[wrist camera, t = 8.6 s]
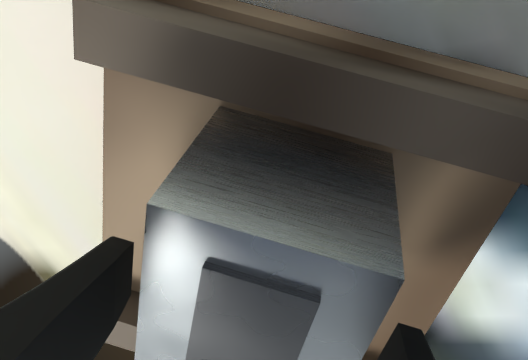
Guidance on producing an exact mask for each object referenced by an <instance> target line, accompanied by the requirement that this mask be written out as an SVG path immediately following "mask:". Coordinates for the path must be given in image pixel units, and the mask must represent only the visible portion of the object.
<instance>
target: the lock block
mask: <svg viewBox="0 0 528 360" xmlns="http://www.w3.org/2000/svg"><path fill="white" fill-rule="evenodd" d="M404 281H405V277H404V267H403V257H402V246H401V236H400V226H399V216H398V206H397V195H396V185H395V175H394V165H393V155H392V154H391V153H387V152H384V151H380V150H377V149H373V148H370V147H366V146H362V145H359V144H355V143H352V142H348V141H345V140H341V139H338V138H334V137H330V136H327V135H323V134H320V133H316V132H313V131H309V130H306V129H302V128H298V127H295V126H291V125H288V124H284V123H281V122H277V121H273V120H270V119H266V118H263V117H259V116H256V115H252V114H249V113H245V112H241V111H238V110H234V109H231V108H227V107H224V106H219V108H218V109H217V110H216V112H215V113H214V114H213V116H212V117H211V118H210V120H209V121H208V122H207V124H206V125H205V126H204V128H203V129H202V130H201V132H200V133H199V134H198V136H197V137H196V138H195V140H194V141H193V142H192V144H191V145H190V146H189V148H188V149H187V150H186V152H185V153H184V154H183V156H182V157H181V158H180V160H179V161H178V162H177V164H176V165H175V166H174V168H173V169H172V170H171V172H170V173H169V174H168V176H167V177H166V178H165V180H164V181H163V182H162V184H161V185H160V186H159V188H158V189H157V190H156V192H155V193H154V194H153V196H152V197H151V198H150V200H149V201H148V203H147V206H146V219H145V232H144V245H143V258H142V271H141V284H140V297H139V310H138V323H137V336H136V348H135V360H362V358H363V356H364V354H365V352H366V351H367V349H368V347H369V345H370V343H371V341H372V340H373V338H374V336H375V334H376V332H377V330H378V328H379V327H380V325H381V323H382V321H383V319H384V317H385V316H386V314H387V312H388V310H389V308H390V306H391V305H392V303H393V301H394V299H395V297H396V295H397V293H398V292H399V290H400V288H401V286H402V284H403V282H404Z"/></svg>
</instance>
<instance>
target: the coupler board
mask: <svg viewBox="0 0 528 360" xmlns="http://www.w3.org/2000/svg"><path fill="white" fill-rule="evenodd" d="M72 4H73V37H74V59H75V60H79V61H82V62H86V63H89V64H93V65H97V66H100V67H104V122H103V241H105V240H106V239H108V238H109V237H111V236H115V237H118V238H122V239H125V240H128V241H131V242H134V253H133V270H132V287H131V296H130V298H129V300H128V302H127V304H126V306H125V308H124V310H123V312H122V314H121V316H120V318H119V319H118V321H117V323H116V325H115V327H114V329H113V331H112V332H111V334H110V335H109V337H108V338H107V340H106V341H105V343H108V344H111V345H115V346H118V347H121V348H124V349H127V350H130V351H134V352H135V348H136V336H137V323H138V310H139V297H140V284H141V271H142V258H143V245H144V232H145V219H146V206H147V203H148V201H149V200H150V198H151V197H152V196H153V194H154V193H155V192H156V190H157V189H158V188H159V186H160V185H161V184H162V182H163V181H164V180H165V178H166V177H167V176H168V174H169V173H170V172H171V170H172V169H173V168H174V166H175V165H176V164H177V162H178V161H179V160H180V158H181V157H182V156H183V154H184V153H185V152H186V150H187V149H188V148H189V146H190V145H191V144H192V142H193V141H194V140H195V138H196V137H197V136H198V134H199V133H200V132H201V130H202V129H203V128H204V126H205V125H206V124H207V122H208V121H209V120H210V118H211V117H212V116H213V114H214V113H215V112H216V110H217V109H218V108H219V106H224V107H227V108H231V109H234V110H238V111H241V112H245V113H249V114H252V115H256V116H259V117H263V118H266V119H270V120H273V121H277V122H281V123H284V124H288V125H291V126H295V127H298V128H302V129H306V130H309V131H313V132H316V133H320V134H323V135H327V136H330V137H334V138H338V139H341V140H345V141H348V142H352V143H355V144H359V145H362V146H366V147H370V148H373V149H377V150H380V151H384V152H387V153H391V154H392V155H393V165H394V175H395V185H396V195H397V206H398V216H399V226H400V236H401V246H402V257H403V267H404V277H405V281H404V282H403V284H402V286H401V288H400V290H399V292H398V293H397V295H396V297H395V299H394V301H393V303H392V305H391V306H390V308H389V310H388V312H387V314H386V316H385V317H384V319H383V321H382V323H381V325H380V327H379V328H378V330H377V332H376V334H375V336H374V338H373V340H372V341H371V343H370V345H369V347H368V349H367V351H366V352H365V354H364V356H363V358H362V360H377V359H378V357H379V355H380V354H381V352H382V350H383V348H384V347H385V345H386V343H387V341H388V340H389V338H390V336H391V334H392V333H393V331H394V329H395V327H396V326H397V324H398V323H401V324H405V325H408V326H411V327H415V328H418V329H421V330H422V331H423V333H424V335H425V334H426V332H427V330H428V329H429V327H430V326H431V324H432V323H433V321H434V319H435V318H436V316H437V315H438V313H439V312H440V310H441V309H442V307H443V305H444V304H445V302H446V301H447V299H448V298H449V296H450V294H451V293H452V291H453V290H454V288H455V287H456V285H457V283H458V282H459V280H460V279H461V277H462V276H463V274H464V272H465V271H466V269H467V268H468V266H469V265H470V263H471V261H472V260H473V258H474V257H475V255H476V254H477V252H478V250H479V249H480V247H481V246H482V244H483V243H484V241H485V239H486V238H487V236H488V235H489V233H490V232H491V230H492V228H493V227H494V225H495V224H496V222H497V221H498V219H499V217H500V216H501V214H502V213H503V211H504V210H505V208H506V206H507V205H508V203H509V202H510V200H511V199H512V197H513V195H514V194H515V192H516V191H517V189H518V188H519V186H520V184H524V185H527V186H528V78H527V77H524V76H520V75H516V74H512V73H508V72H505V71H501V70H497V69H493V68H490V67H486V66H482V65H478V64H474V63H471V62H467V61H463V60H459V59H456V58H452V57H448V56H444V55H441V54H437V53H433V52H429V51H425V50H422V49H418V48H414V47H410V46H407V45H403V44H399V43H395V42H391V41H388V40H384V39H380V38H376V37H373V36H369V35H365V34H361V33H357V32H354V31H350V30H346V29H342V28H339V27H335V26H331V25H327V24H323V23H320V22H316V21H312V20H308V19H305V18H301V17H297V16H293V15H289V14H286V13H282V12H278V11H274V10H271V9H267V8H263V7H259V6H256V5H252V4H248V3H244V2H240V1H237V0H72Z"/></svg>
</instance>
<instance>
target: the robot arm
mask: <svg viewBox="0 0 528 360" xmlns="http://www.w3.org/2000/svg"><path fill="white" fill-rule="evenodd" d="M133 253H134V242H131V241H128V240H125V239H122V238H118V237H115V236H111V237H109V238H108V239H106V240H105V241H103V242H102V243H101V244H99V245H98V246H96V247H95V248H94V249H92V250H91V251H89V252H88V253H86V254H85V255H84V256H82V257H81V258H79V259H78V260H76V261H75V262H73V263H72V264H70V265H69V266H67V267H66V268H64V269H63V270H61V271H60V272H58V273H57V274H55V275H54V276H52V277H51V278H49V279H48V280H46V281H44V282H43V283H41V284H40V285H38V286H37V287H35V288H33V289H32V290H30V291H28V292H27V293H25V294H23V295H21V296H20V297H18V298H16V299H15V300H13V301H11V302H10V303H8V304H6V305H4V306H3V307H1V308H0V360H93V359H94V358H95V357H96V355H97V353H98V352H99V350H100V349H101V347H102V346H103V344H104V343H105V341H106V340H107V338H108V337H109V335H110V334H111V332H112V331H113V329H114V327H115V325H116V323H117V321H118V319H119V318H120V316H121V314H122V312H123V310H124V308H125V306H126V304H127V302H128V300H129V298H130V296H131V287H132V270H133ZM377 360H435V358H434V356H433V354H432V351H431V349H430V347H429V344H428V342H427V340H426V338H425V335H424V333H423V331H422V330H421V329H418V328H415V327H411V326H408V325H405V324H401V323H398V324H397V326H396V327H395V329H394V331H393V333H392V334H391V336H390V338H389V340H388V341H387V343H386V345H385V347H384V348H383V350H382V352H381V354H380V355H379V357H378V359H377Z"/></svg>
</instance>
